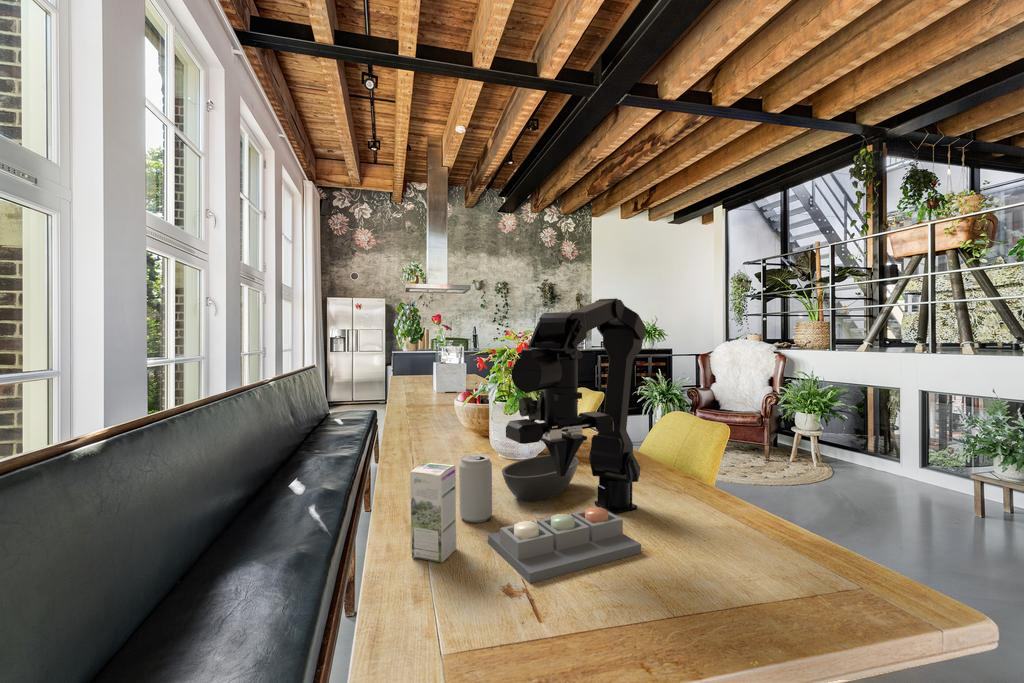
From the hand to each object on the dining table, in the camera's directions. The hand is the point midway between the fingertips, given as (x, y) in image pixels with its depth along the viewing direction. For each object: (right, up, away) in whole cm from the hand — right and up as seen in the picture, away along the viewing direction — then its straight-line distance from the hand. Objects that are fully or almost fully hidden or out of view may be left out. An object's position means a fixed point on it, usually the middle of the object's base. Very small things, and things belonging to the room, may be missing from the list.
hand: (561, 476), depth 85 cm
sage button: (0, -10, -1) cm, 10 cm away
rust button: (+6, -10, +2) cm, 12 cm away
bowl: (-2, -11, +27) cm, 29 cm away
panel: (0, -12, -1) cm, 12 cm away
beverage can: (-16, -12, +12) cm, 23 cm away
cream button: (-6, -10, -5) cm, 13 cm away
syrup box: (-21, -12, -3) cm, 25 cm away
